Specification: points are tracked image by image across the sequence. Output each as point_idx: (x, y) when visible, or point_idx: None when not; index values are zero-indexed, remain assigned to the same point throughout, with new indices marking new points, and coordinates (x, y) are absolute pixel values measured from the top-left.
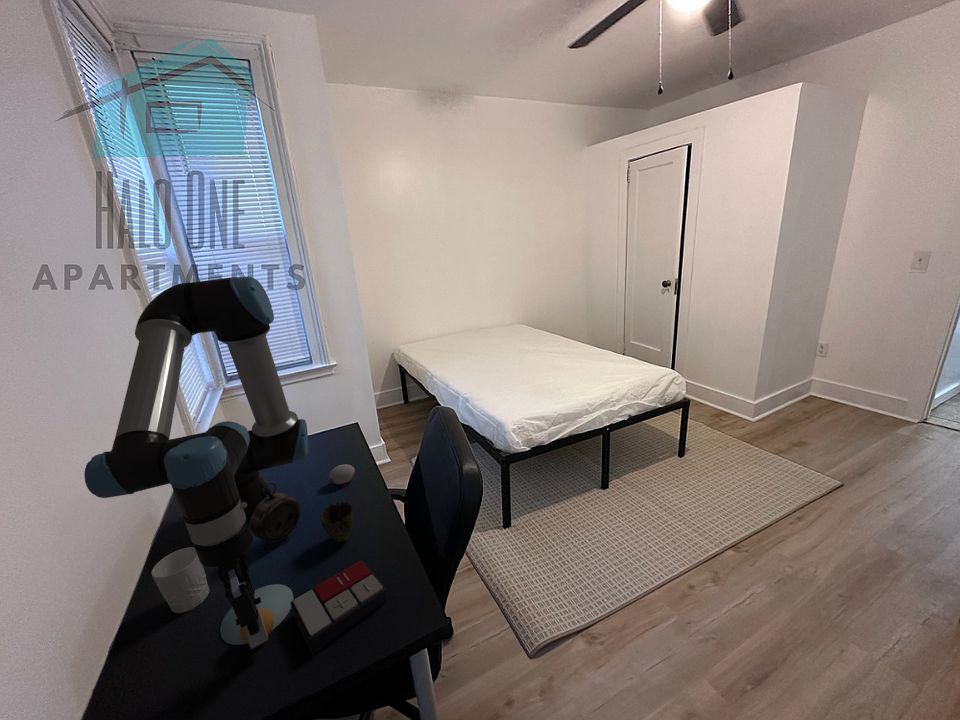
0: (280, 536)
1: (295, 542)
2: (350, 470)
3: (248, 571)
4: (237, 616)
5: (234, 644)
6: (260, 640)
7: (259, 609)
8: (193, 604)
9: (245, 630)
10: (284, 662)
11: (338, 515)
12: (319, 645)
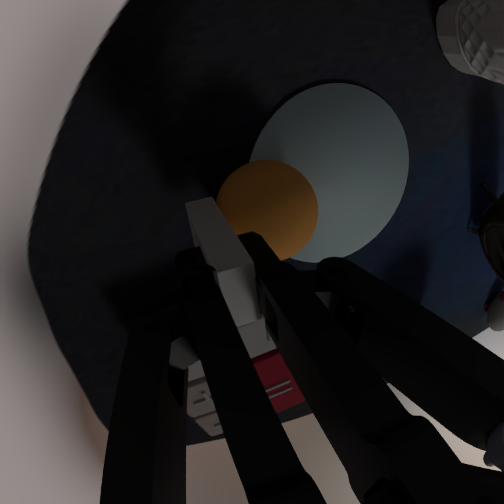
0: (485, 230)
1: (457, 242)
2: (496, 329)
3: (354, 492)
4: (115, 410)
5: (266, 123)
6: (193, 237)
7: (300, 244)
8: (445, 37)
9: (201, 243)
10: (133, 266)
11: None
12: None
